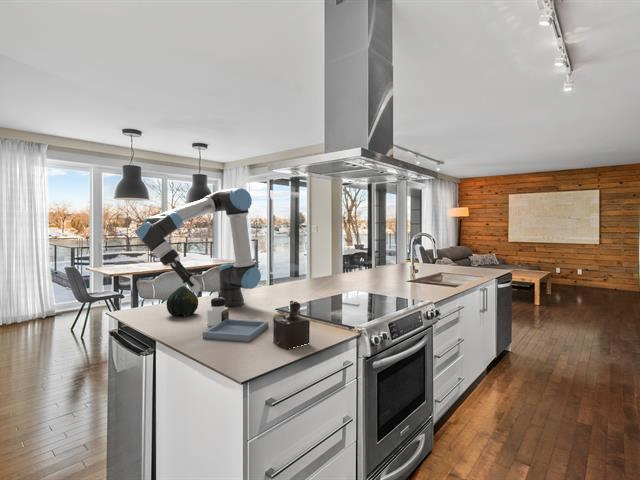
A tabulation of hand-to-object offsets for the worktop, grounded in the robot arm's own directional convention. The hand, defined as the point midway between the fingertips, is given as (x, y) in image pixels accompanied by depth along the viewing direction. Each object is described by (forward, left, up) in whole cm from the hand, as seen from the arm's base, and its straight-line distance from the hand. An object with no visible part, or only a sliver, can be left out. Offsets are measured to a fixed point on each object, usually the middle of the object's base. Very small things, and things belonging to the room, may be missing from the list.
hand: (198, 290), depth 163 cm
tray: (+6, +21, -16) cm, 27 cm away
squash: (-16, -19, -16) cm, 29 cm away
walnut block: (-7, +36, -16) cm, 40 cm away
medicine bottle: (-4, +7, -16) cm, 18 cm away
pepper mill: (+16, +49, -16) cm, 54 cm away
